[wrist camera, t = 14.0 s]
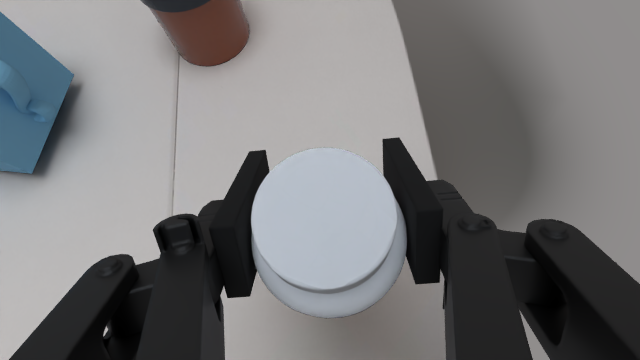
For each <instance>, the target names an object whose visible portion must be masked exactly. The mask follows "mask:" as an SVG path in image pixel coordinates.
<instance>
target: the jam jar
mask: <svg viewBox="0 0 640 360" xmlns="http://www.w3.org/2000/svg"><path fill="white" fill-rule="evenodd" d="M149 8H150V7H149ZM150 10H151V11H152V13H153V14H154V16H155V17H156V19H157V20H158V22H159V24H160V25H161V27H162V28H163V30H164V31H165V33H166V34H167V36H168V37H169V39H170V40H171V42H172V43H173V45H174V46H175V48H176V49H177V51H178V52H179V54H180V55H181V56H182V57H183V58H184V59H185V60H187V61H188V62H190V63H193V64H196V65H200V66H213V65H218V64H221V63H224V62H226V61H228V60H230V59H232V58H233V57H235V56H236V55H237V54H238V53H239V52H240V51H241V50H242V49H243V48H244V46H245V44H246V42H247V40H248V37H249V24H248V21H247V18H246V15H245V13H244V10H243V7H242V4H241V1H240V0H210V1H209V2H207V3H205V4H204V5H202V6H199V7H197V8H194V9H192V10H188V11H183V12H174V13H170V12H161V11H157V10H154V9H152V8H150Z"/></svg>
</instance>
